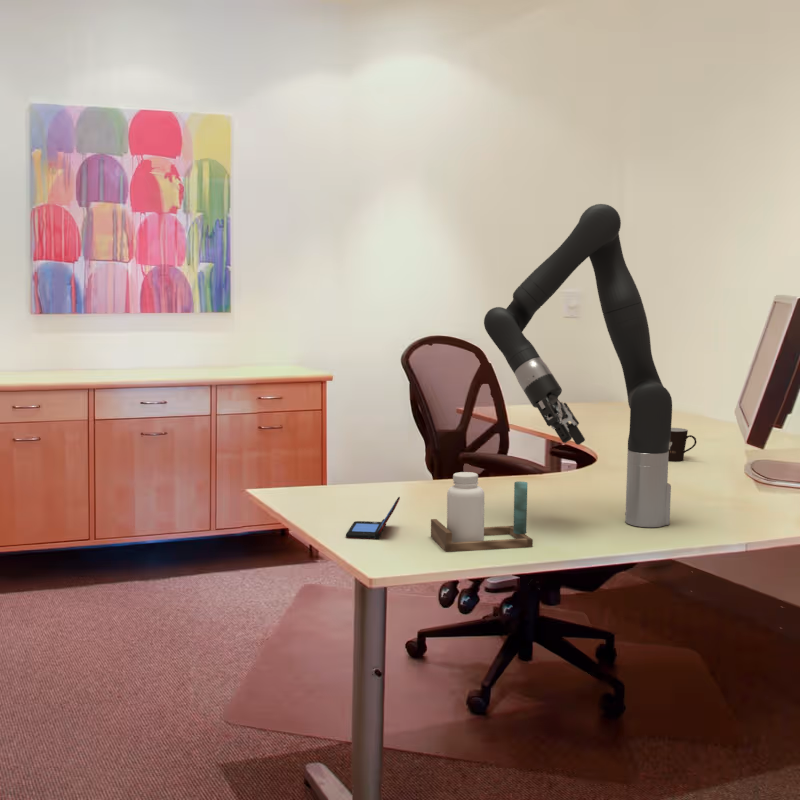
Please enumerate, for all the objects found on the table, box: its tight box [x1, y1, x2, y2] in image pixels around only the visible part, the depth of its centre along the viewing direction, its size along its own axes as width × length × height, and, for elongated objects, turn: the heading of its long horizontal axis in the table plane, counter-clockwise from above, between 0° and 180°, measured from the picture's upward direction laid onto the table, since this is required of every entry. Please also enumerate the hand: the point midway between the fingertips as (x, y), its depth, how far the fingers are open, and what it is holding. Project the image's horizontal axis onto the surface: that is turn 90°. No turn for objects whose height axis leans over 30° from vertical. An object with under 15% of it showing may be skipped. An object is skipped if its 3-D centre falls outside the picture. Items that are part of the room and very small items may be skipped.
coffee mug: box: [668, 427, 697, 463], centre depth 304 cm, size 12×9×10 cm
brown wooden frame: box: [430, 481, 534, 553], centre depth 202 cm, size 20×12×13 cm, turn 103°
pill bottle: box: [446, 471, 485, 542], centre depth 201 cm, size 8×8×15 cm
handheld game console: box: [345, 496, 401, 540], centre depth 210 cm, size 12×11×7 cm
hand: (574, 441), depth 208 cm, fingers open, 8 cm apart
